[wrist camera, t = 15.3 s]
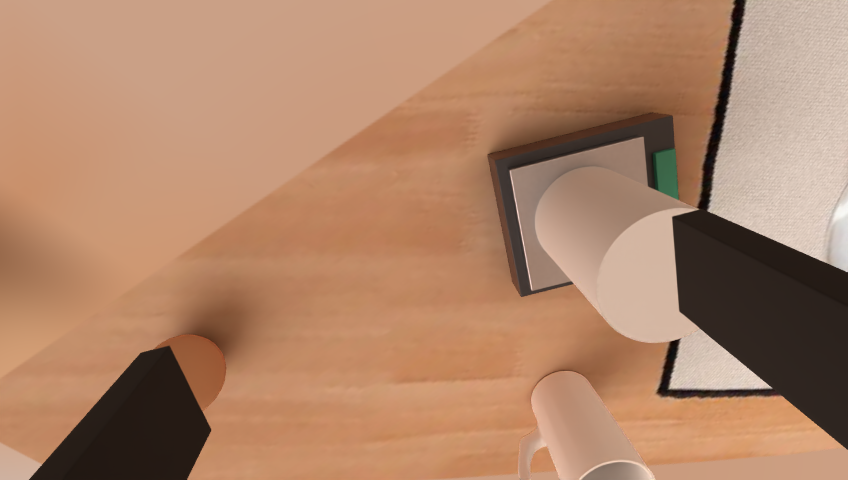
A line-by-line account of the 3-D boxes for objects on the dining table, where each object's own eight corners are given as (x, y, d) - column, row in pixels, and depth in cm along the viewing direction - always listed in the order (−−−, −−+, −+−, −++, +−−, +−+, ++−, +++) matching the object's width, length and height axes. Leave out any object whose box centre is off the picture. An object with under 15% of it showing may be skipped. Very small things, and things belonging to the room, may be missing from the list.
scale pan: (506, 168, 37) (509, 170, 37) (638, 134, 37) (643, 136, 37) (529, 287, 41) (531, 291, 40) (649, 257, 41) (654, 260, 40)
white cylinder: (578, 284, 40) (652, 367, 29) (513, 219, 38) (566, 281, 27) (656, 215, 39) (766, 275, 27) (593, 143, 36) (685, 176, 25)
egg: (198, 392, 46) (159, 459, 38) (147, 345, 44) (95, 404, 36) (251, 356, 45) (223, 416, 37) (201, 306, 43) (160, 358, 35)
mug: (577, 355, 47) (637, 445, 36) (605, 403, 49) (669, 503, 38) (487, 404, 48) (517, 505, 37) (517, 449, 50) (555, 558, 39)
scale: (487, 154, 40) (495, 161, 37) (652, 112, 40) (676, 115, 37) (512, 282, 44) (522, 299, 41) (663, 245, 44) (685, 259, 41)
